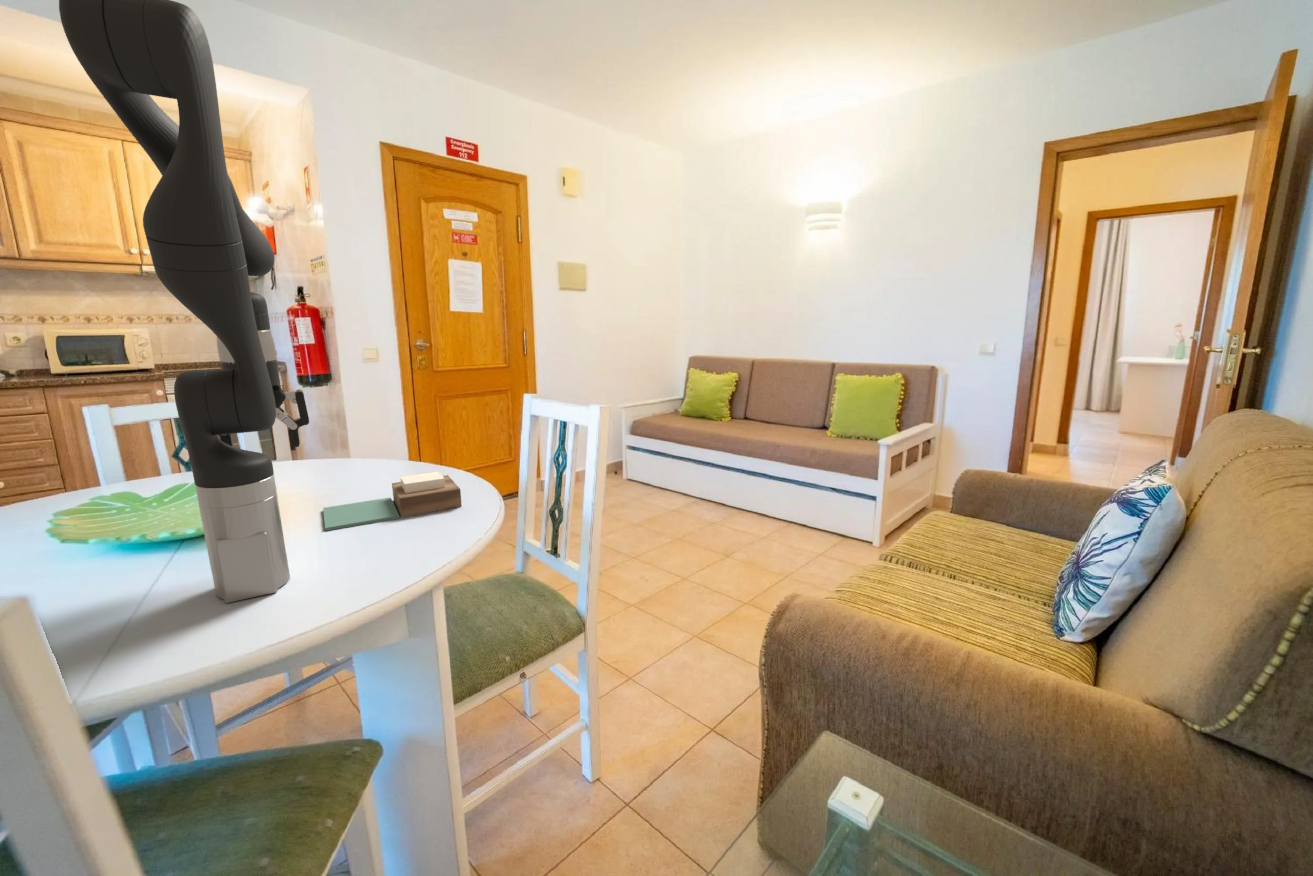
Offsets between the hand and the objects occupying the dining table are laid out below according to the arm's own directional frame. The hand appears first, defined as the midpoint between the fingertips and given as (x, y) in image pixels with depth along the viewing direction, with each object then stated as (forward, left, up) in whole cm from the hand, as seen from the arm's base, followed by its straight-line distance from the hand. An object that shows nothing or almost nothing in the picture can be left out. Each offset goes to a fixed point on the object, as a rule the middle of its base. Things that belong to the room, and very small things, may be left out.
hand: (263, 452), depth 92 cm
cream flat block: (+11, -26, -14) cm, 31 cm away
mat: (+11, -14, -18) cm, 25 cm away
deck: (+11, -27, -18) cm, 34 cm away
